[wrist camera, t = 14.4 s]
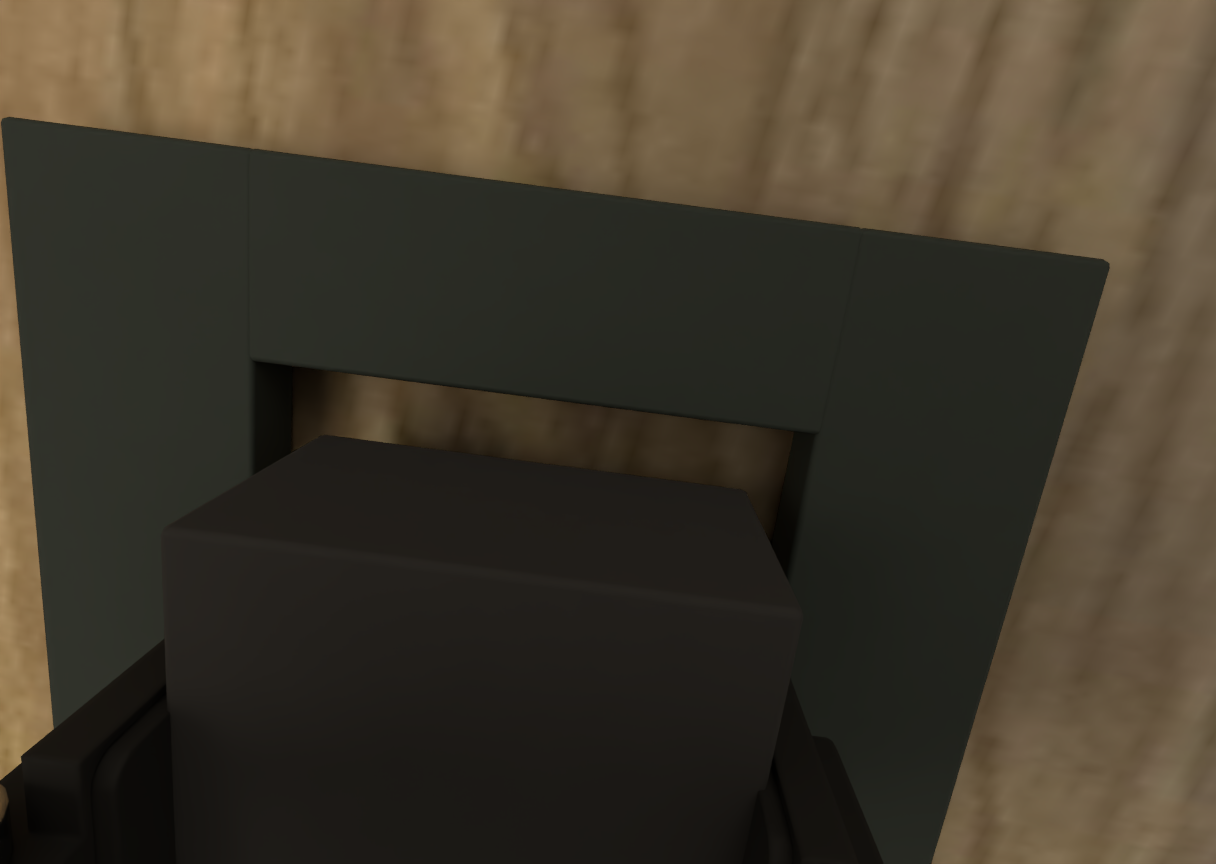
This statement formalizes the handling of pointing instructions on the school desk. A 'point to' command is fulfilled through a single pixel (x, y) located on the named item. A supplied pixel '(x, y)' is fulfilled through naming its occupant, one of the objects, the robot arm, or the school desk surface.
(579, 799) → the black block
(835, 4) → the school desk surface
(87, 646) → the frame pad
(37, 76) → the school desk surface
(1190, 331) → the school desk surface
